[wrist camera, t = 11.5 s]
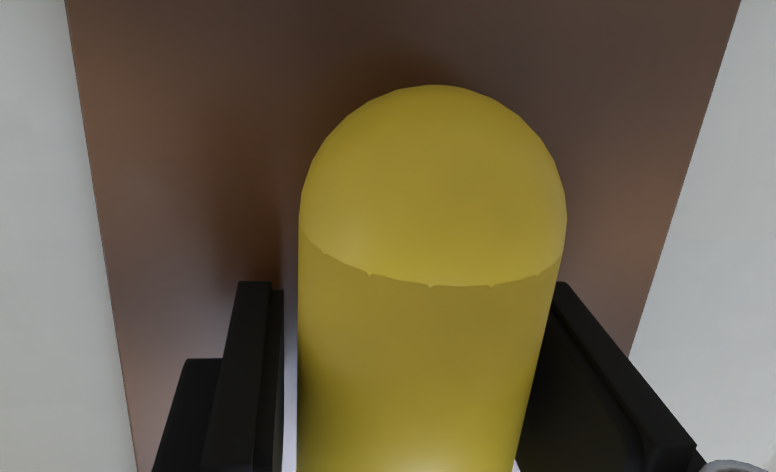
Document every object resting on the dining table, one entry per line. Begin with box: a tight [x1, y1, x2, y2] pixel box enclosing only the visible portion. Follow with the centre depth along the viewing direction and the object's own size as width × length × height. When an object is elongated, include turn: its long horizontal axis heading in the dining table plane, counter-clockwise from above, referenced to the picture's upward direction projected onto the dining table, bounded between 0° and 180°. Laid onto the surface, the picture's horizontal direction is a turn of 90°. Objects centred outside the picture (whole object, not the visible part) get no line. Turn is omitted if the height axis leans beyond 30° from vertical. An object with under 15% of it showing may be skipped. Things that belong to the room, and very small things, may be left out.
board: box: [64, 0, 741, 472], centre depth 11 cm, size 18×10×1 cm, turn 176°
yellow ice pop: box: [296, 85, 567, 472], centre depth 10 cm, size 11×4×4 cm, turn 176°
